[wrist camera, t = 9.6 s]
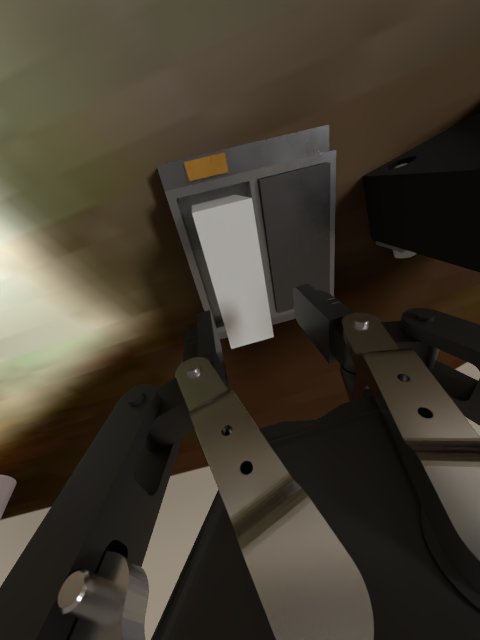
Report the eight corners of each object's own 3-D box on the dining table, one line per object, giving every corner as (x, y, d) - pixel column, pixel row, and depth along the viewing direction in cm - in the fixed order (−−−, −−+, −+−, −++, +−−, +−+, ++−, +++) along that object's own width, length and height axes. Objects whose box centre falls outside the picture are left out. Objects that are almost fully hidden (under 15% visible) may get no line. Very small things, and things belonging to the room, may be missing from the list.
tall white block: (191, 205, 18) (191, 213, 13) (234, 194, 18) (251, 197, 13) (222, 313, 23) (231, 349, 18) (255, 304, 23) (273, 337, 18)
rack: (158, 166, 17) (152, 163, 15) (321, 127, 18) (341, 119, 16) (213, 334, 26) (215, 350, 23) (323, 304, 26) (336, 316, 24)
